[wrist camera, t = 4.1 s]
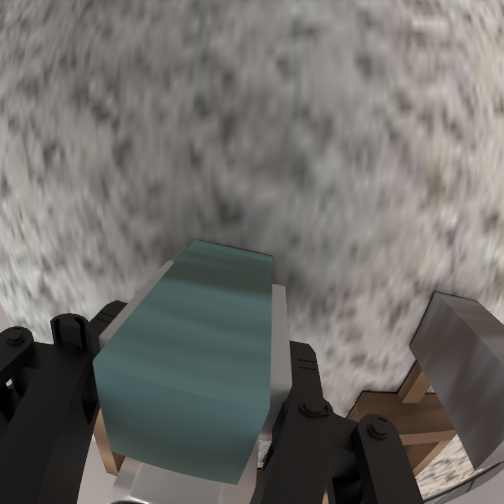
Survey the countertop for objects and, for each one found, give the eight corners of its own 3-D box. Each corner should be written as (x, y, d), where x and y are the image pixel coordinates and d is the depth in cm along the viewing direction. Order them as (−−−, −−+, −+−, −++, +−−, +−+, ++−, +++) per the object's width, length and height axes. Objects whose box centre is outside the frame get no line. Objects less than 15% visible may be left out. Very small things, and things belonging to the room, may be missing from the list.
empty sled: (413, 287, 15) (512, 407, 6) (491, 304, 15) (578, 389, 6) (303, 479, 22) (306, 567, 12) (371, 478, 22) (386, 556, 12)
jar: (213, 463, 22) (191, 575, 10) (134, 420, 21) (82, 534, 9) (281, 422, 19) (278, 572, 8) (187, 367, 18) (126, 533, 7)
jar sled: (107, 220, 15) (-34, 296, 6) (366, 276, 15) (454, 415, 6) (121, 441, 22) (84, 522, 12) (272, 476, 22) (268, 567, 12)
